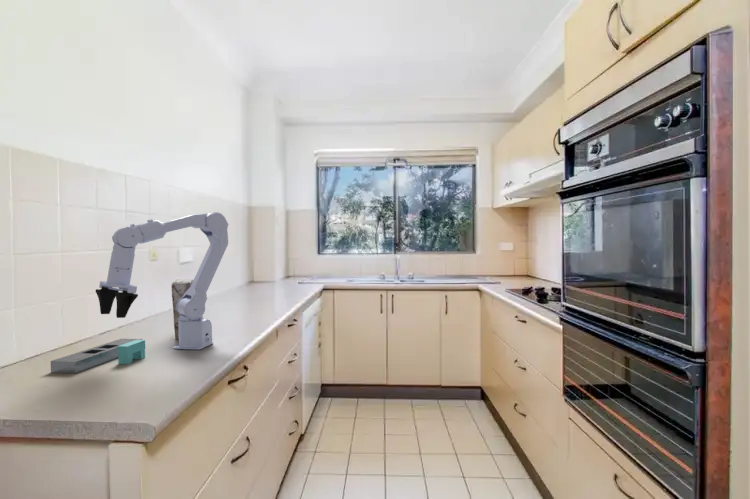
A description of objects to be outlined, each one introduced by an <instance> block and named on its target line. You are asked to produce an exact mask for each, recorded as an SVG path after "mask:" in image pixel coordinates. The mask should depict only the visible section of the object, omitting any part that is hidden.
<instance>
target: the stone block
mask: <svg viewBox="0 0 750 499" xmlns="http://www.w3.org/2000/svg"><path fill="white" fill-rule="evenodd" d="M193 280H194V279H187V278H186V279H185V278H184V279H181V278H180V279H176V280H175V281H172V282H171V299H172V300H171V301H172V310H173V311H172V312H173V329H174V339H176V340H177V339H178V340H179V325H178V318H179V316H180V314H179V313H178V312H177V310H176V304H177V302H178V301H179V300H180V299H181V298H182V297H183V296H184V294H185V292H186V291H187V290H188V289H189V288H190V287H191V285H192V282H193Z"/></svg>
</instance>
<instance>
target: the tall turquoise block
mask: <svg viewBox="0 0 750 499" xmlns="http://www.w3.org/2000/svg"><path fill="white" fill-rule="evenodd" d="M145 350H146V340H145V339H142V340H134V341H131V342H128V343H126V344H123V345H120V346H117V351H118V358H117V359H118V362H117V363H118V364H119V365H129V364H132V363H133V360H134V359H136V360H142V359H144V358H146V351H145Z"/></svg>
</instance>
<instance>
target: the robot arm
mask: <svg viewBox="0 0 750 499" xmlns="http://www.w3.org/2000/svg"><path fill="white" fill-rule="evenodd" d="M146 221H147V222H146ZM146 221H145V222H143V223H142V222H141V223H138V224H134V223H132V224H130V225H129V226H126V227H122V228H118V229H117V230H116V231H115V232H114V233H113V235H112V236H111V238H112V239H111V240H112V242H113V246H112V251H111V256H110V260H109V266H108V272H107V277H106V281H105V280H103V281H102V280H101V281H99V288H96V289H95V293H96V295H97V298H98V302H99V303H98V304H99V310H100V312H99V313H100V314H101V315H110V314H111V311H112V307H113V304H114V301H116V310H115V311H116V312H115V315H116V318H118V319H119V318H120V319H121V318H122V319H124V318H126V317H127V315H128V312H129V310H130V308H131V306H132V304H133V303H134V302H135V300H136V299H137V298H138V297H139V294H138V293H137V288H138V286H137V285H132V284H131V280H132V272H133V266H134V261H135V252H136V246H137V245H139V244H141V245H142V244H146V243H149V242H152V241H156V240H159V239H160V240H161V239H163V238H165V235H166V234H167V233H169V232H175V231H179V230H183V229H187V228H190V227H191V228H194V229H199V230H200V231H201V232H202V233H203V234H204V235H205V236H206V238H207V239H208V241H209V246H208V249H207V250H206V252H205V255H204V256H203V259H202V261H201V263H200V265H199V268H198V270H197V272H196V275H195V276H194V279H192V280H193V282H192V285H191V287H190V288H189V289H188V290H187V291H186V292H185V294H184V296H183V297H182V298H181V299H180V300H179V301H178V302H177V304H176V310H177V312H178V313H179V314H180V316H179V318H178V325H179V339H178V345H175V346H173V347H172V349H173V350H175V349H176V350H198V351H199V350H202V349H204V348H206V347H208V346H211V345H212V344H214V341H213V327H212V326H213V325H212V322H211V320H209V319H207V318H204V314H205V312H206V302H207V300H208V296H207V293H208V292H207V291H208V290H209V288H210V286H211V284H212V281H213V278H214V277H215V274H216V272H217V270H218V268H219V265H220V263H221V262H222V258H223V256H224V254H225V252H226V251H227V248H228V245H229V234H228V228H229V223H228V221H227V219H226V217H225V216H224V215H223V214H222V213H221V212H218V211H217V212H216V211H214V212H211V213H207V212H206V213H198V214H190V215H187V216H183V217H180V218H177V219H172V220H169V221H165V222H162V221H160V220H158V219H155V220H153V218H151V219H148V220H146ZM115 299H116V300H115Z"/></svg>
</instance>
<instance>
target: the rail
mask: <svg viewBox="0 0 750 499" xmlns="http://www.w3.org/2000/svg"><path fill="white" fill-rule="evenodd" d="M134 340H143V339H142V338H118V339H116V340H113V341H110V342H109V341H108V342H106V343H103V344H100V345H96V346H94V347H91V348H87V349H85V350H81V351H78V352H75V353H72V354H69V355H66V356H61V357H60V358H59V357H58V358H56V359H53V360H50V373H54V374H56V373H57V374H78V373H81V372H83V371H86V370H88V369H91V368H94V367H96V366H100V365H102V364H105V363H107V362H111V361H113V360H115V359H118V351H117V346H120V345H123V344H126V343H128V342H131V341H134Z"/></svg>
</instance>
